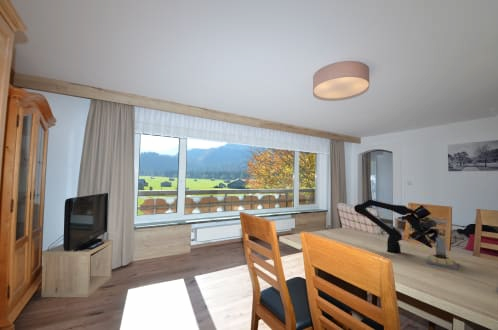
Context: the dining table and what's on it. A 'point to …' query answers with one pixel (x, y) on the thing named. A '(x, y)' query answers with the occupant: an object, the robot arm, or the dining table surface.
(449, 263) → the nut plate
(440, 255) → the shiny metal cylinder
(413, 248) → the dining table surface
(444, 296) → the dining table surface
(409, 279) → the dining table surface
